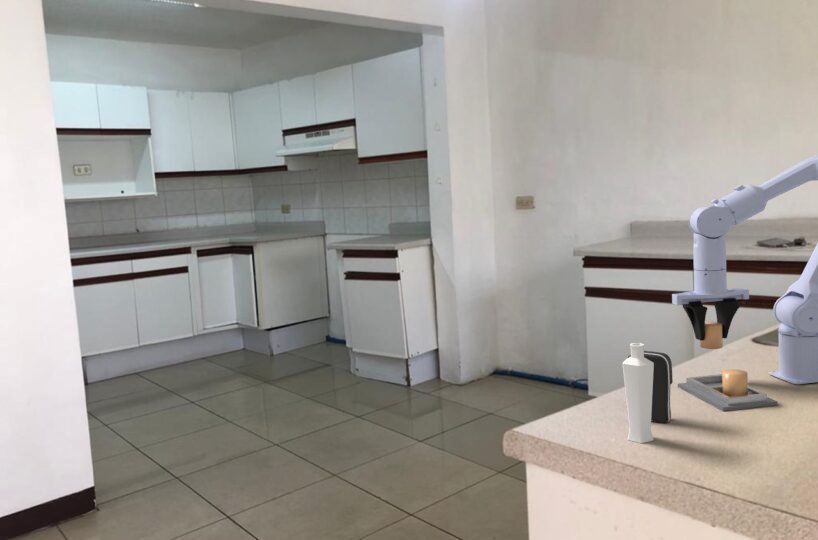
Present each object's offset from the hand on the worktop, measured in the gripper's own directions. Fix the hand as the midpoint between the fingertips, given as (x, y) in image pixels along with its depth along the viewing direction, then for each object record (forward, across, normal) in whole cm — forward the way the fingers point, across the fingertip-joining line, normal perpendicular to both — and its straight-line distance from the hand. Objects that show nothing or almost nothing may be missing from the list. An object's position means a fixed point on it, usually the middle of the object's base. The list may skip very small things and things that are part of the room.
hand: (711, 338), depth 130 cm
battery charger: (+9, +20, +16) cm, 27 cm away
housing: (+8, +3, +9) cm, 13 cm away
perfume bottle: (+9, +26, +24) cm, 37 cm away
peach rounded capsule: (+2, 0, 0) cm, 2 cm away
